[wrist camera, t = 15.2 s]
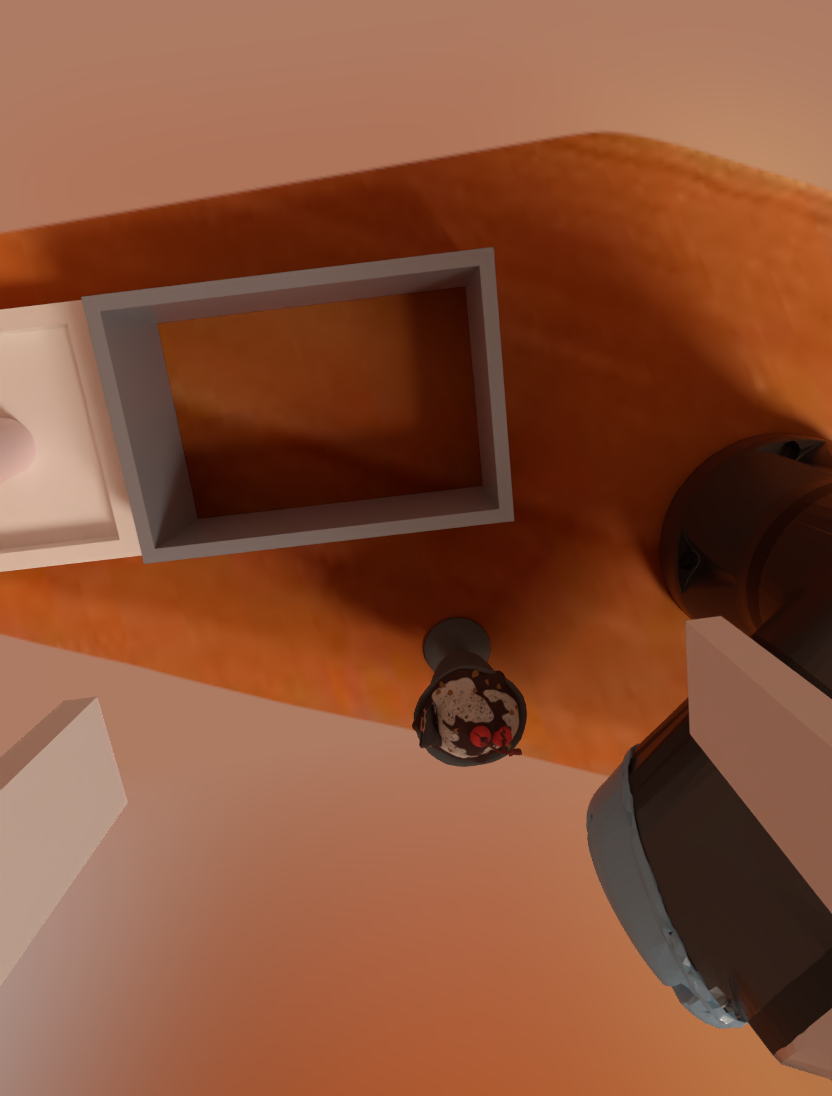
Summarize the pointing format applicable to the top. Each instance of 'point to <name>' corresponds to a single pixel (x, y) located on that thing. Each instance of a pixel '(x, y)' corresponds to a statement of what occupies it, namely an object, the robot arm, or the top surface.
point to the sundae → (467, 699)
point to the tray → (60, 445)
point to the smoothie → (15, 448)
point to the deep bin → (132, 316)
